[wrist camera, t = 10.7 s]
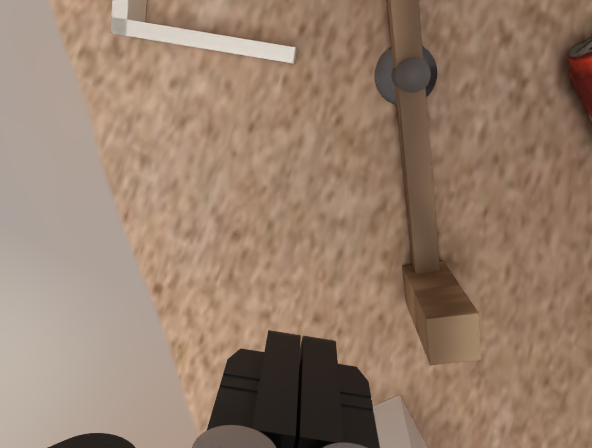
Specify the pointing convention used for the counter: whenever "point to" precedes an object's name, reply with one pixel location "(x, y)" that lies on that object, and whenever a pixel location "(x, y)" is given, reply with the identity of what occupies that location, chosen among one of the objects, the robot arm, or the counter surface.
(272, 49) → the three-sided white fence
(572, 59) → the beverage can
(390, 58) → the pivot base
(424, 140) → the lever
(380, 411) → the milk
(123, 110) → the counter surface
